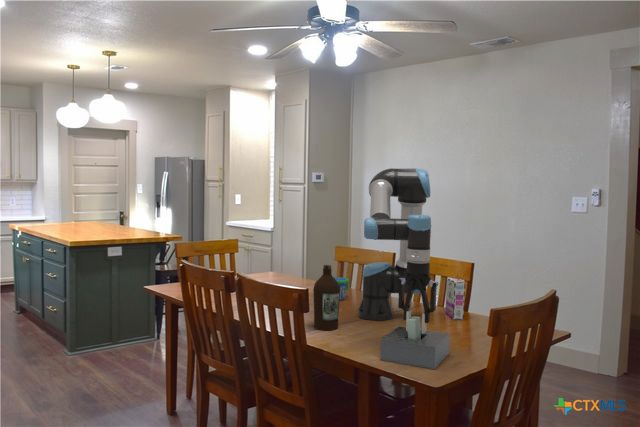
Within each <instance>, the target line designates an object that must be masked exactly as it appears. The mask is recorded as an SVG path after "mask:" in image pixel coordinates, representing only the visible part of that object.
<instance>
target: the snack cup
mask: <svg viewBox="0 0 640 427" xmlns="http://www.w3.org/2000/svg"><path fill="white" fill-rule="evenodd" d="M333 277H334V276H333ZM334 278H335V280H336V281H337V282H338V283H339V286H340V300H339V301H342V300H345V299H346V295H347V291H349V290H350V287H349V286H350V285H349V281H350V280H349V278H347V277H340V276H339V277H336V276H335V277H334Z"/></svg>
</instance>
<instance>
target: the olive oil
mask: <svg viewBox="0 0 640 427" xmlns="http://www.w3.org/2000/svg"><path fill="white" fill-rule="evenodd" d="M322 266H323V268H322V275H321V276H320V277H319V278H318V279H317V280H316V282H315V283H314V286H313V288H312V291H313V312H314V313H313V323H314V324H313V328H314V329H315V330H318V331H324V332H325V331H330V332H331V331H335V330H337V329H338V328H339V313H340V312H339V309H340V301H341V300H340V286H339V283H338V282H337V281H336V280H335V278H334V276H333V274H332V264H323V265H322Z"/></svg>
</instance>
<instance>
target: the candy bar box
mask: <svg viewBox="0 0 640 427" xmlns="http://www.w3.org/2000/svg"><path fill="white" fill-rule="evenodd" d="M445 290H446V292H445V294H446V295H445V315H446V316H448V317H449V318H451V319H452V320H455V321H457V320H459V321H460V320H462V321H463V320H464V319H465V314H464V313H465V296H466V282H465V281H463V280H461V279H459V278H458V277H447V278H446V288H445Z"/></svg>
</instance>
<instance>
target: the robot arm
mask: <svg viewBox="0 0 640 427" xmlns="http://www.w3.org/2000/svg"><path fill="white" fill-rule="evenodd" d="M368 184H369V185H368V195H369V196H370V207H369V208H370V210H369V217H366V218H364V223H363V237H364V238H365V239H367V240H374V241H377V240H378V241H379V240H382V241H399V258H398V259H397V260H396V262H395V265H392V264H391V262H389V261H386V262H385V261H378V262H371V263H367V264H366V265H364V267H363V272H362V297H361V298H362V299H361V302H360V305H359V306H358V307H359V308H358V311H357V316H358V317H359V318H360V319H364V320H367V321H368V320H370V321H386V320H387V321H388V320H391V319H393V318H394V311H393V307H392V304H391V301H390V294H398V303H397V304H398V306H397V307H398V309H401V310H402V311H403V321H405V323H406V324H405V327H406V331H408V327H407V320H408V319H410V318H411V317H412V309H410V307H411V304H412V299H413V295H414V294H415V295H420V296H421V301H422V306H423V311H424V312H422V315H421V330H422V333H425V332H426V330H427V324H429V323H430V319H431V318H430V317H431V314H432V313H434V312H435V311H436V310H437V307H436V306H437V288H438V287H439V282H438V281H434V280H432V279H431V276H430V269H431V268H430V267H431V266H430V265H431V264H430V261H431V237H432V236H431V235H432V230H431V228H432V218H431V216H430V215H425V214H423V206H424V205H425V203H427V199H429V198H430V197H431V184H430V176H429V173H428V171H427V169H424V168H423V169H421V168H392V167H391V168H387V169H384V170H382V171H380V172H379V171H378V173H377V174H375V175H374V176H373V177H372V179H371V180H370V182H369V183H368ZM391 197H392V198H393V197H394V198H395V197H396V198H397V201H398V203H399V204H400V206H401V207H400V208H401V210H400V214H401V215H400V218H391V214H392V213H391ZM428 285H429V287H430V296H428V293H427V290H428V289H427V286H428ZM405 295H406V298H405ZM428 297H430V301H429V298H428Z"/></svg>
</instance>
